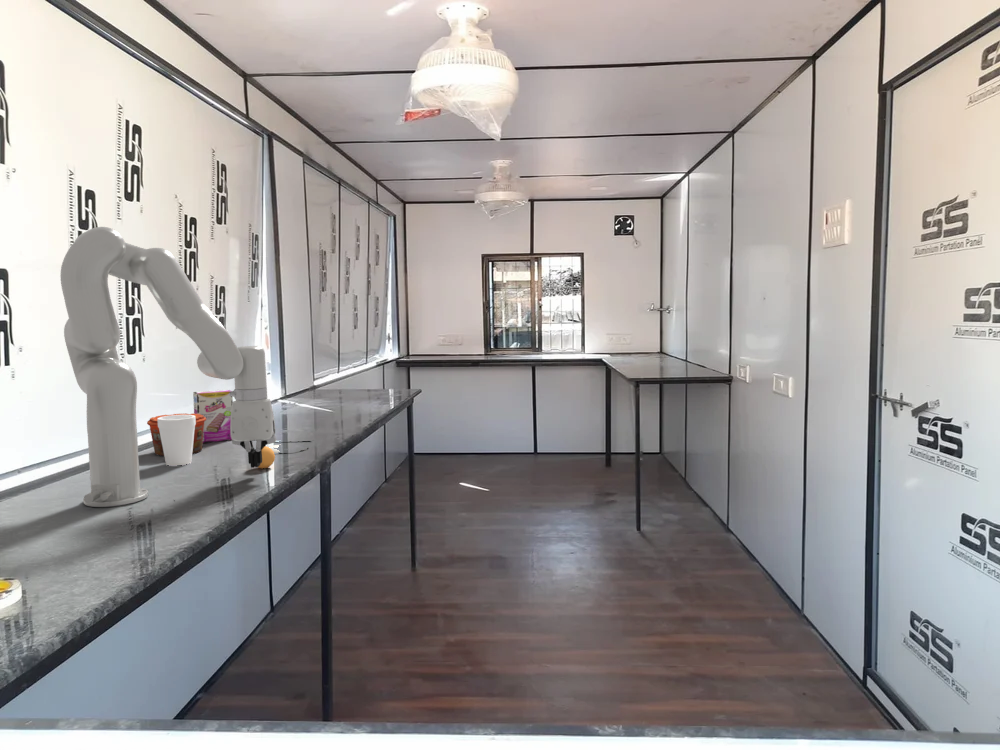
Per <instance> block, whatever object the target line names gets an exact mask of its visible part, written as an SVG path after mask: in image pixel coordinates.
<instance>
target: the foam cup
mask: <svg viewBox="0 0 1000 750" xmlns="http://www.w3.org/2000/svg"><path fill="white" fill-rule="evenodd" d="M170 415H171V416H164V417H159V418H157V420H158V428H159V431H160V436H161V441H162V446H163V451H164V456H163V457H164V460H165V466H167V465H169V466H168V467H178V466H177V465H182V466H187V465H190V464H191V463H192V460H193V454H192V451H193V441H194V430H195V425H196V419H195V416H194V415H173V414H170ZM189 463H190V464H189ZM186 464H187V465H186Z"/></svg>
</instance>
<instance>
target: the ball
mask: <svg viewBox="0 0 1000 750" xmlns="http://www.w3.org/2000/svg"><path fill="white" fill-rule="evenodd" d="M275 460H276V454H274V452H273V450H272V449H271V448H269V447H268V445H266V446H265V447H264V448H263V449H262V463H260V466H259V467H257V468H258V469H262V470H263V468H264V469H267V468H269V467H271V466H272V465H273V464H274V462H275Z"/></svg>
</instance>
